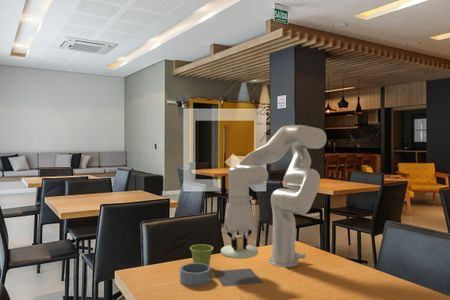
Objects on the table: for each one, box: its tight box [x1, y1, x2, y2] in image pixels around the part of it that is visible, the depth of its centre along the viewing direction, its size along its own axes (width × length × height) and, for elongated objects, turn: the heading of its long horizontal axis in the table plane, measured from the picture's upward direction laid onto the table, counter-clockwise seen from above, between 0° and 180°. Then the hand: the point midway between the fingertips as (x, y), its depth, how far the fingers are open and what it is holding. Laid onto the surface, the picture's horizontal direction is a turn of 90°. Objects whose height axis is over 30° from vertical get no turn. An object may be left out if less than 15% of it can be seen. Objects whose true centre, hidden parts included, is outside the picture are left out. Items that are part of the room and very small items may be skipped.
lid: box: [220, 235, 259, 260], centre depth 134 cm, size 14×14×6 cm
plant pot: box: [189, 243, 214, 266], centre depth 143 cm, size 9×9×9 cm
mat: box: [213, 268, 264, 287], centre depth 134 cm, size 15×15×1 cm
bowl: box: [179, 262, 212, 287], centre depth 130 cm, size 11×11×5 cm
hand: (239, 248), depth 135 cm, fingers closed on lid, 3 cm apart
